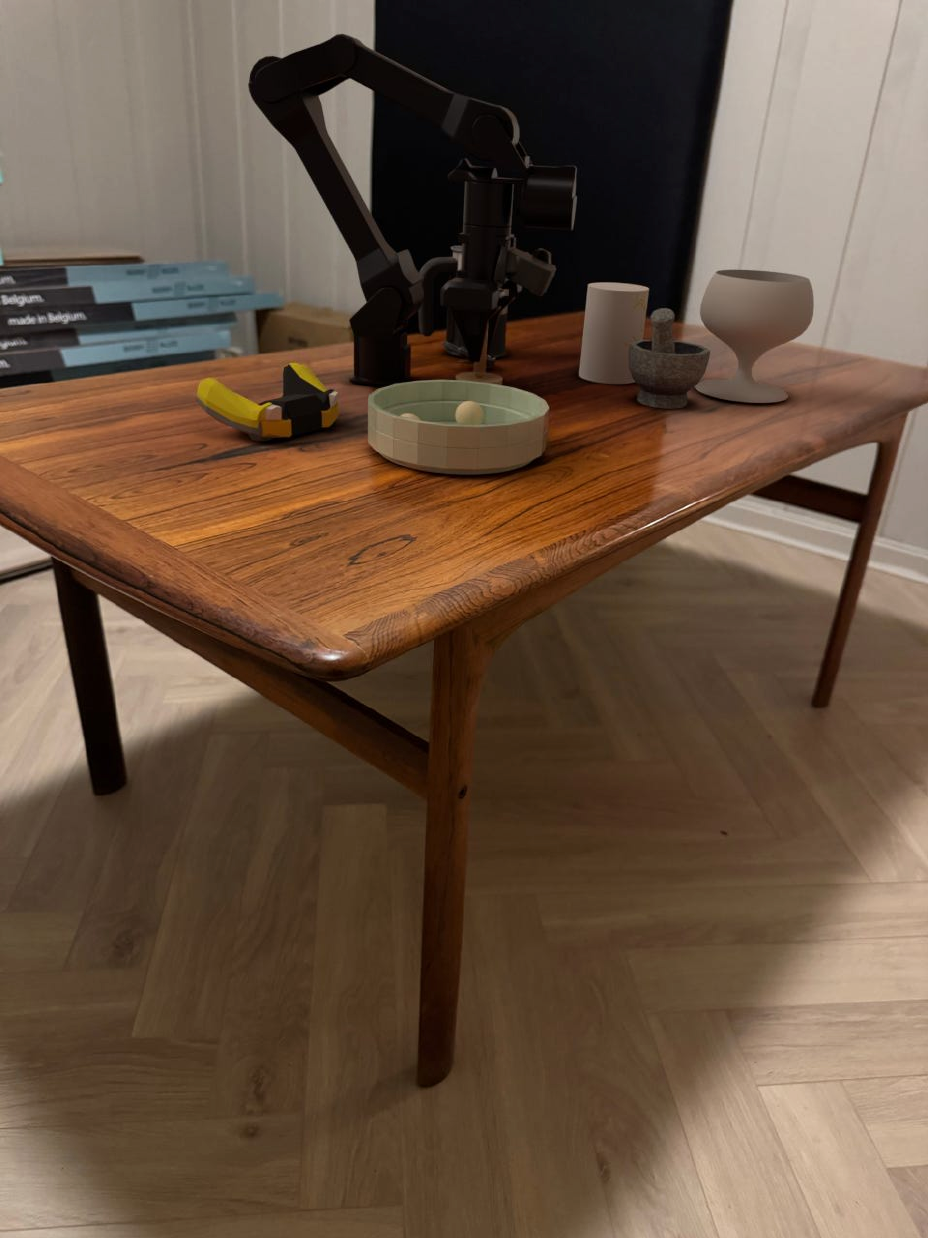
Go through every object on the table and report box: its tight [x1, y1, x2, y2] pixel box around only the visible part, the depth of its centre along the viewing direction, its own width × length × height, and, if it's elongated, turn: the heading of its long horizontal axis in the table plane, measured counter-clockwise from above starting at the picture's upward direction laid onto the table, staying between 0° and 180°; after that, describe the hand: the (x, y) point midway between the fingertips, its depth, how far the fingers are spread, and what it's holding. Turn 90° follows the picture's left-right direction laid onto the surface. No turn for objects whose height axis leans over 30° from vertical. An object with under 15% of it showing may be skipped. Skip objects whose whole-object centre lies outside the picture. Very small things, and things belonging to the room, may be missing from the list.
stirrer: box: [455, 322, 503, 385], centre depth 116 cm, size 6×6×10 cm
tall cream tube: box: [578, 282, 650, 385], centre depth 126 cm, size 8×8×12 cm
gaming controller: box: [196, 361, 340, 442], centre depth 98 cm, size 15×6×10 cm
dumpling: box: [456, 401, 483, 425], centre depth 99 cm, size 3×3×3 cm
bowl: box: [367, 379, 550, 476], centre depth 94 cm, size 18×18×5 cm
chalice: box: [694, 269, 815, 404], centre depth 120 cm, size 14×14×15 cm
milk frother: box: [417, 245, 510, 366], centre depth 132 cm, size 14×16×15 cm
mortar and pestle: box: [628, 307, 711, 410], centre depth 114 cm, size 11×9×12 cm
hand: (480, 357), depth 117 cm, fingers open, 5 cm apart
